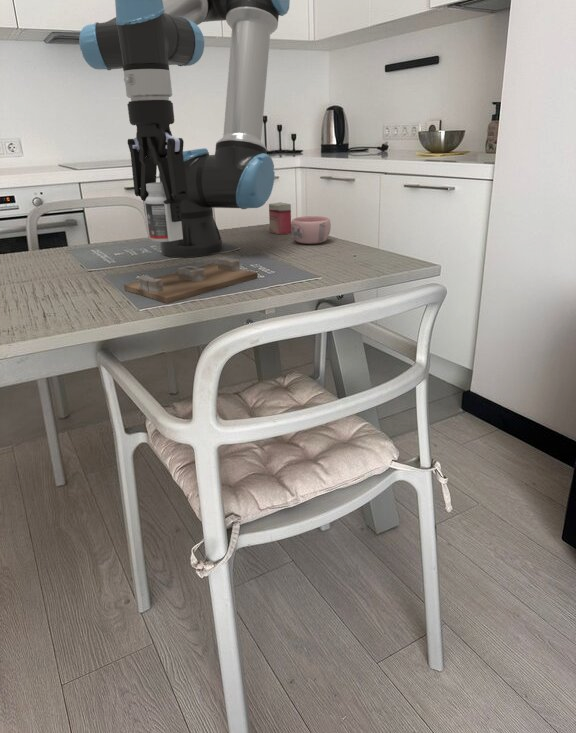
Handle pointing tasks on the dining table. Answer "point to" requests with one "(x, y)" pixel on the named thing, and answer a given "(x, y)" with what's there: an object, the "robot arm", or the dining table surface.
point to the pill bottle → (156, 212)
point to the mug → (310, 229)
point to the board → (191, 281)
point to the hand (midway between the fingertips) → (165, 237)
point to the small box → (280, 218)
